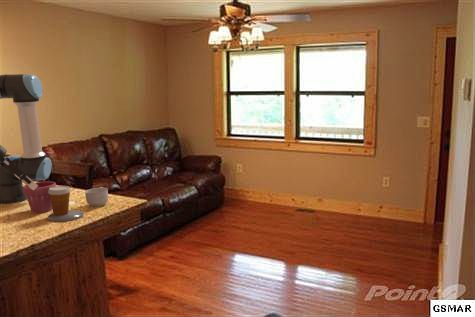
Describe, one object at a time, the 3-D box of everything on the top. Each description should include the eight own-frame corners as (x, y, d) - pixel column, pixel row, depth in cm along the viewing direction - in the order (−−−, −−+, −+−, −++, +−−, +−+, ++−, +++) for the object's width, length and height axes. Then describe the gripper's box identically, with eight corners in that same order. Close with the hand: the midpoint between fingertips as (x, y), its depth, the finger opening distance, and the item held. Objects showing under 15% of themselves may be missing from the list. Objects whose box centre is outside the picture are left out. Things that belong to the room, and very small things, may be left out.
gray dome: (50, 213, 196) (50, 211, 195) (84, 210, 200) (84, 208, 200) (45, 223, 181) (45, 221, 181) (82, 219, 186) (82, 217, 186)
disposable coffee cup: (52, 210, 196) (51, 185, 194) (74, 210, 197) (72, 185, 195) (46, 217, 187) (45, 190, 185) (69, 216, 188) (67, 190, 186)
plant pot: (27, 208, 205) (24, 182, 203) (58, 205, 210) (56, 180, 208) (23, 216, 192) (21, 189, 190) (57, 212, 197) (54, 186, 195)
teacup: (101, 208, 203) (100, 192, 202) (81, 207, 205) (80, 191, 204) (115, 201, 216) (114, 186, 215) (96, 200, 219) (95, 185, 217)
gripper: (-21, 153, 179) (18, 186, 190) (-10, 161, 160) (32, 197, 171) (-6, 141, 182) (31, 174, 193) (5, 147, 163) (46, 183, 174)
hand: (31, 185), depth 182 cm, fingers open, 13 cm apart
